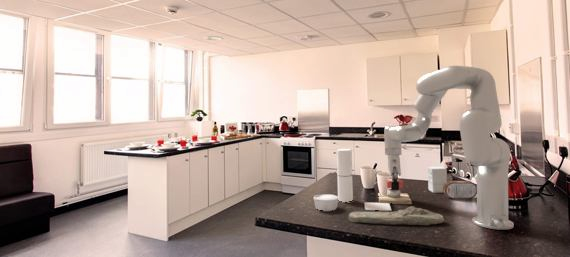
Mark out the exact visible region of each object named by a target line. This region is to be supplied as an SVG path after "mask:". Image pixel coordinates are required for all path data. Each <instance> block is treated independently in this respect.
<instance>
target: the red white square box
mask: <svg viewBox="0 0 570 257" xmlns="http://www.w3.org/2000/svg"><path fill="white" fill-rule="evenodd" d="M386 181H387V186H386V187H387V189H388V188H392V183H391V182H392V181H389V180H386V179H385V182H386ZM398 182H399V189H404V181H403V180H402V178H398Z"/></svg>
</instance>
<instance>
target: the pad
mask: <svg viewBox="0 0 570 257" xmlns="http://www.w3.org/2000/svg"><path fill="white" fill-rule="evenodd" d="M390 204H391V203H380V202H364V210H365V211H375V210H379V211H378V212H392V207H391V205H390Z"/></svg>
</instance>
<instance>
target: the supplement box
mask: <svg viewBox="0 0 570 257" xmlns="http://www.w3.org/2000/svg"><path fill="white" fill-rule="evenodd" d="M427 181H428V182H427V183H428V184H427V185H428V188H427V189H428V191H430V192H431V193H433V194H434V193H439V194H444V192H443V187H444V185H445V184H446V183H447V182H448V170H447V168H446V167H443V166H427Z"/></svg>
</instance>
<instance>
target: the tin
mask: <svg viewBox="0 0 570 257" xmlns="http://www.w3.org/2000/svg"><path fill="white" fill-rule="evenodd" d="M443 192H444V193H443V194H444V195H445V196H446V197H447V198H449V199H455V200H456V199H457V200H459V199H463V200H466V199H468V200H469V199H474V198H475V197H477V184H475V183H473V182H472V181H471V180H470V181H469V180H449V181H447V183H446V184H445V185H444V187H443Z"/></svg>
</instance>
